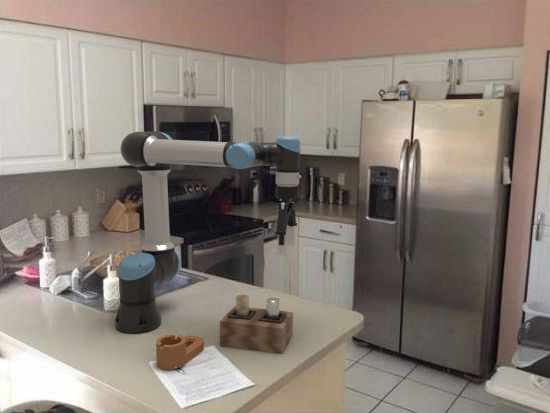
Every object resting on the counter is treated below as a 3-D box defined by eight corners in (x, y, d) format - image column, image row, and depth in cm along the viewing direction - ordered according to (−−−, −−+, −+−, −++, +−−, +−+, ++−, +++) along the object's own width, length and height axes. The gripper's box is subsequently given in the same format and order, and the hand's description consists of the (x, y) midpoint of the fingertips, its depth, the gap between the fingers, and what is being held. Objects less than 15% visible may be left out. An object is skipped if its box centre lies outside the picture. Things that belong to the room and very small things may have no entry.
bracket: (175, 372, 138) (174, 348, 137) (150, 366, 141) (150, 343, 140) (208, 347, 154) (208, 325, 153) (186, 342, 157) (185, 321, 156)
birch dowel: (234, 322, 158) (234, 298, 157) (238, 318, 162) (238, 294, 160) (246, 323, 157) (246, 299, 156) (250, 319, 161) (250, 295, 159)
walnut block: (219, 345, 155) (219, 319, 153) (234, 328, 168) (234, 304, 167) (282, 353, 150) (282, 326, 148) (292, 335, 163) (293, 310, 162)
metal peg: (264, 326, 155) (265, 301, 154) (268, 321, 159) (268, 297, 158) (277, 327, 154) (277, 302, 153) (280, 322, 158) (280, 298, 157)
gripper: (291, 190, 147) (289, 260, 150) (305, 181, 171) (303, 242, 174) (266, 189, 148) (265, 258, 152) (284, 180, 172) (282, 240, 176)
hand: (286, 250), depth 163 cm, fingers open, 13 cm apart
